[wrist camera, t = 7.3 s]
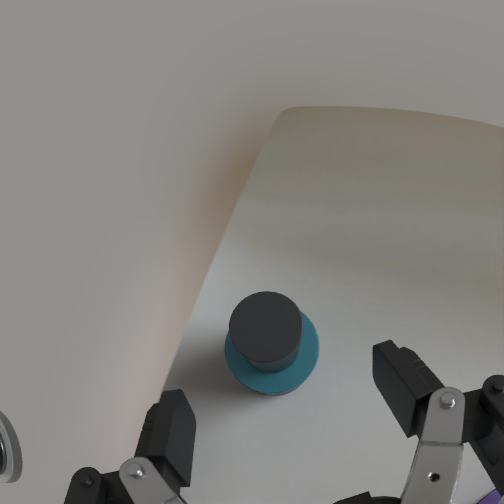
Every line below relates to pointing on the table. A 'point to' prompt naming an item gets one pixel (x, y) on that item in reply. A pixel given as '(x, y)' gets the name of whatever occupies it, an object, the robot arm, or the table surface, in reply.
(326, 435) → the table surface
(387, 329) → the table surface
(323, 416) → the table surface
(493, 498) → the tape roll
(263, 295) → the teal and black cylinder
